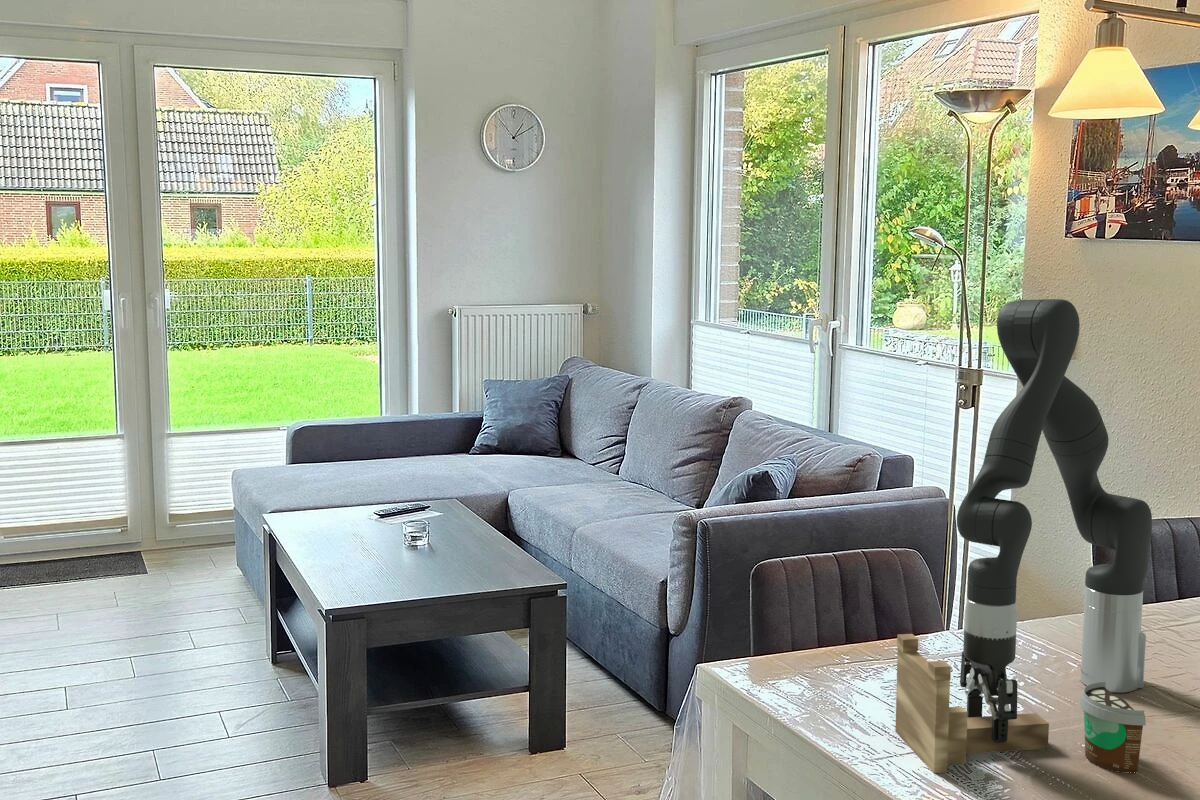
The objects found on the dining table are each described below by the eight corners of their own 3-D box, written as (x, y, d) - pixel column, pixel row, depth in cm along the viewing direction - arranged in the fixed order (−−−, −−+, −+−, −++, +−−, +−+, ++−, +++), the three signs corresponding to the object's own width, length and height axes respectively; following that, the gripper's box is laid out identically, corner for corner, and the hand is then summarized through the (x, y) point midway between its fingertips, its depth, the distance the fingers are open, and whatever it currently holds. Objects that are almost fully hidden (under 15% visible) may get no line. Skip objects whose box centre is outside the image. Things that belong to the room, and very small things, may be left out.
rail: (1035, 737, 188) (1036, 700, 187) (1047, 748, 184) (1049, 710, 183) (924, 745, 185) (925, 708, 184) (935, 756, 181) (936, 718, 180)
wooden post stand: (931, 728, 191) (934, 631, 189) (973, 770, 176) (976, 665, 174) (894, 731, 190) (896, 633, 188) (932, 773, 176) (935, 668, 173)
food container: (1061, 743, 185) (1064, 681, 184) (1100, 742, 186) (1103, 679, 184) (1101, 779, 173) (1105, 713, 172) (1142, 777, 174) (1146, 711, 172)
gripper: (1036, 642, 175) (1032, 748, 178) (992, 612, 189) (988, 710, 192) (987, 645, 174) (983, 751, 177) (946, 614, 188) (943, 713, 191)
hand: (986, 730), depth 184 cm, fingers open, 8 cm apart
